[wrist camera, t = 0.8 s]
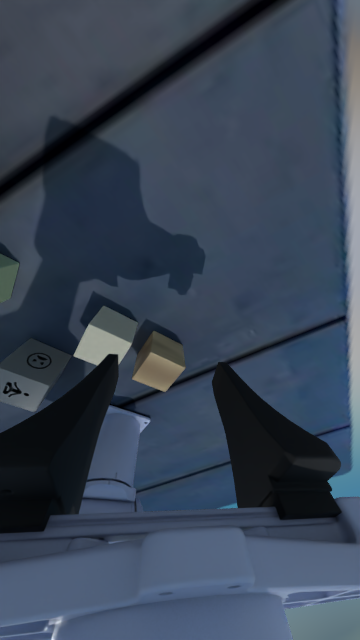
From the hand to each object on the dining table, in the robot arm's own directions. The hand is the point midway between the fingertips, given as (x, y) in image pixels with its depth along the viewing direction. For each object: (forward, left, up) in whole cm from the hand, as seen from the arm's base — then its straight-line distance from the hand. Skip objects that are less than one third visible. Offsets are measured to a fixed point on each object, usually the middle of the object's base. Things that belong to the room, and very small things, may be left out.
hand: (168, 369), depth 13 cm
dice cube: (-14, +10, -10) cm, 20 cm away
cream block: (-5, +5, -10) cm, 12 cm away
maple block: (-5, -2, -10) cm, 11 cm away
